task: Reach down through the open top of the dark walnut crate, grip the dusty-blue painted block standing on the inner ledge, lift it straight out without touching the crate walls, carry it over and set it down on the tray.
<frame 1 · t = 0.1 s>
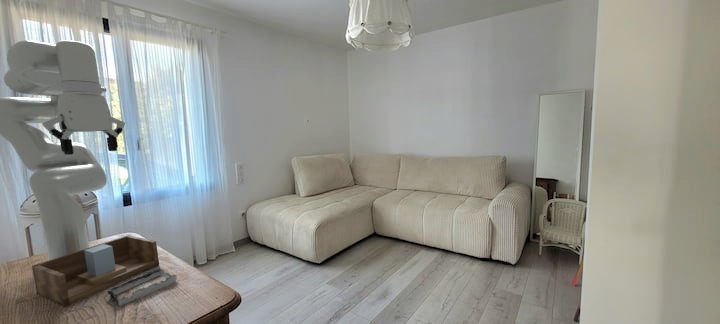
hand: (92, 152, 79), 37 cm above the table, tool pointing down, fingers open, 9 cm apart
block: (102, 271, 81), point 2 cm above the table, touching crate
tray: (142, 291, 76), on the table
crate: (103, 278, 82), on the table
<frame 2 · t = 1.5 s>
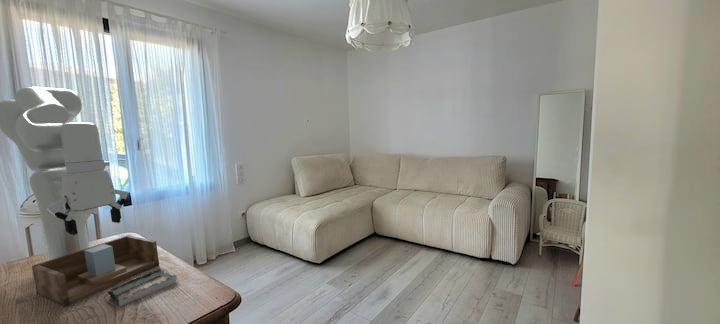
hand: (96, 227, 80), 15 cm above the table, tool pointing down, fingers open, 9 cm apart
nothing on the table moved.
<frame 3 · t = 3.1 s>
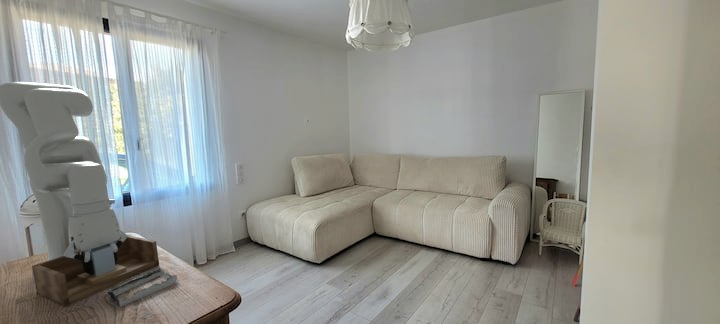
hand: (101, 268, 81), 3 cm above the table, tool pointing down, fingers closed on block, 4 cm apart
block: (102, 271, 81), point 2 cm above the table, touching crate, gripper
everything else where it was.
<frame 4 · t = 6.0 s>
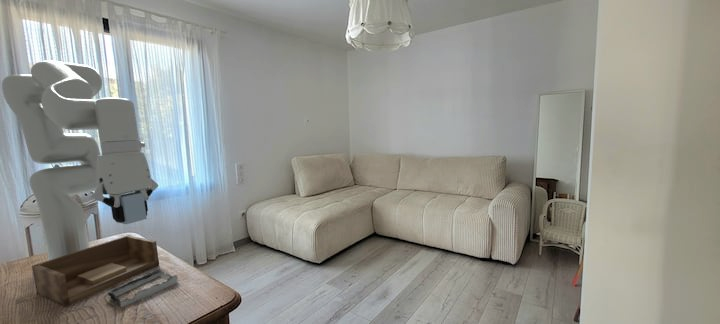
hand: (131, 217, 73), 20 cm above the table, tool pointing down, fingers closed on block, 4 cm apart
block: (132, 220, 73), point 19 cm above the table, touching gripper
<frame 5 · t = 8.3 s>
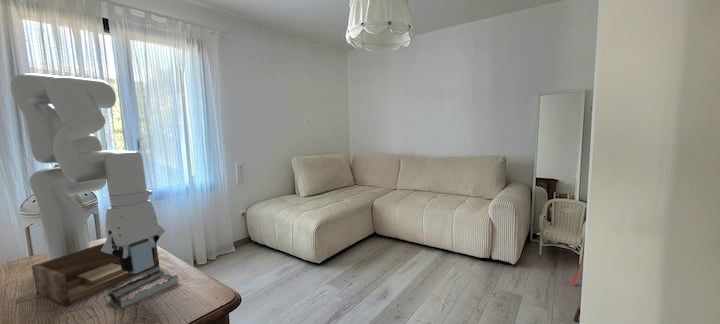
hand: (139, 265, 75), 7 cm above the table, tool pointing down, fingers closed on block, 4 cm apart
block: (139, 268, 75), point 6 cm above the table, touching gripper
when the fingers open (5 cm above the table, at t = 9.0 s): block drops 2 cm, resting on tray.
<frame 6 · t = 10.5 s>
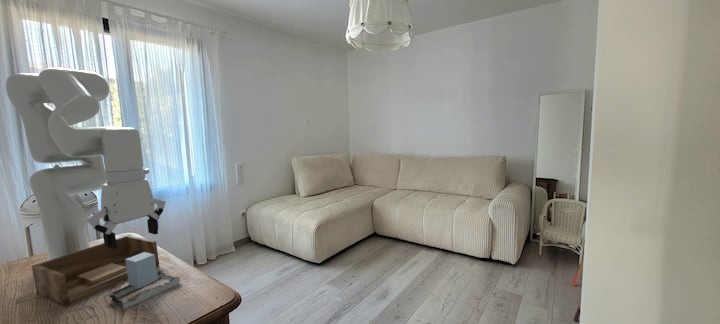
hand: (133, 240, 74), 14 cm above the table, tool pointing down, fingers open, 9 cm apart
block: (143, 281, 75), point 2 cm above the table, touching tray
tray: (145, 294, 74), on the table, touching block
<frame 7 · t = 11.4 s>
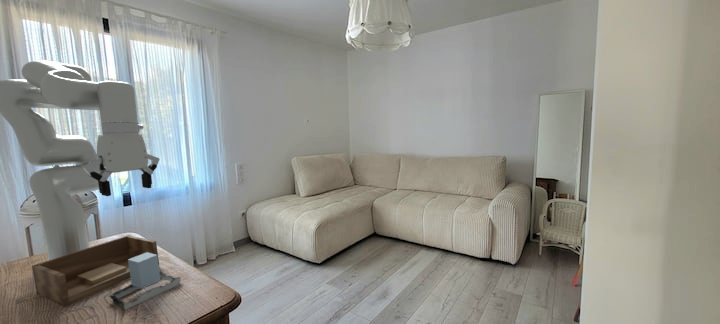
hand: (127, 191, 78), 26 cm above the table, tool pointing down, fingers open, 9 cm apart
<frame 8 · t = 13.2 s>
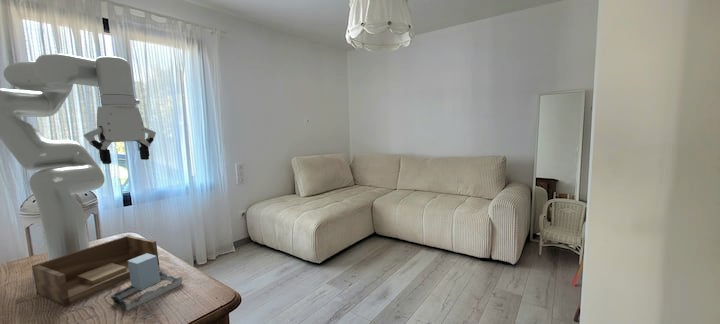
hand: (126, 161, 83), 33 cm above the table, tool pointing down, fingers open, 9 cm apart
at the end: block inside the target area on the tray (0.3 cm from its centre), point 3.1 cm above the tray's base; block tilted 0°; block touching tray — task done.
